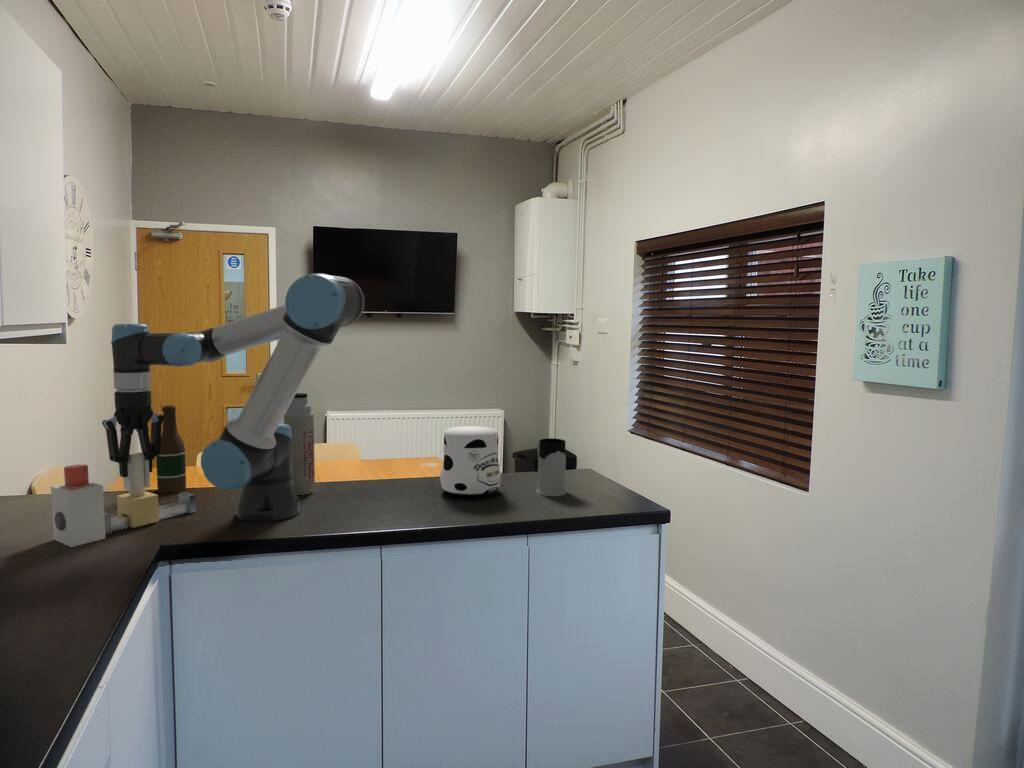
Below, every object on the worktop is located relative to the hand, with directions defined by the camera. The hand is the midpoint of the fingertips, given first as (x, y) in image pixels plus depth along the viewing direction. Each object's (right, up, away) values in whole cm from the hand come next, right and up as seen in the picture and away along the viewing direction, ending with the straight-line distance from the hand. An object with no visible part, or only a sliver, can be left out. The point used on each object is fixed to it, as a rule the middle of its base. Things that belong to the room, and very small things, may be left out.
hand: (137, 488), depth 161 cm
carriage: (0, -8, +1) cm, 9 cm away
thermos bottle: (+29, -6, +31) cm, 43 cm away
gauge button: (-7, +2, -12) cm, 14 cm away
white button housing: (-7, -10, -11) cm, 16 cm away
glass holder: (+99, -6, +37) cm, 106 cm away
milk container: (+77, -7, +33) cm, 84 cm away
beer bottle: (-7, -5, +30) cm, 32 cm away
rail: (+1, -8, +3) cm, 9 cm away
